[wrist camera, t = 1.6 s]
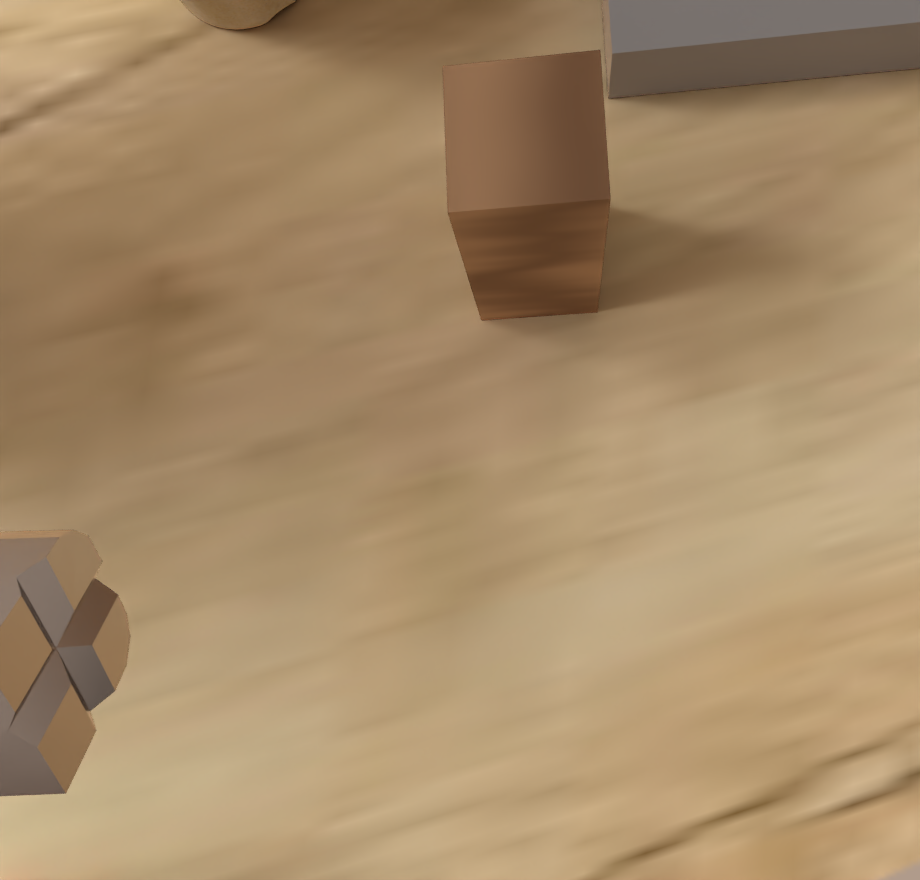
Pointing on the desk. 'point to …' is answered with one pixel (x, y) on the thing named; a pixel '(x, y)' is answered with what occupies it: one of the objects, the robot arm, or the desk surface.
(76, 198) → the desk surface
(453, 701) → the desk surface
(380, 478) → the desk surface
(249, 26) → the flower pot
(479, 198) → the walnut block
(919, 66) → the slate base
